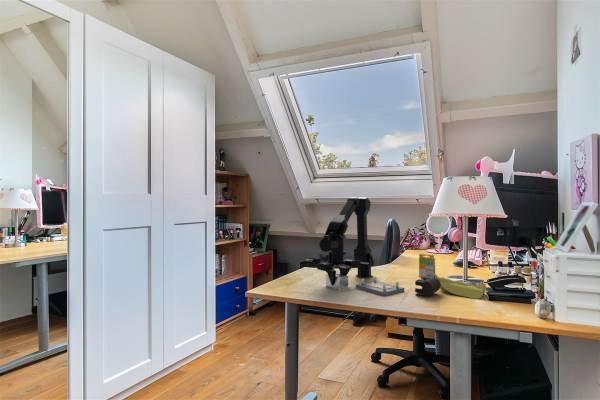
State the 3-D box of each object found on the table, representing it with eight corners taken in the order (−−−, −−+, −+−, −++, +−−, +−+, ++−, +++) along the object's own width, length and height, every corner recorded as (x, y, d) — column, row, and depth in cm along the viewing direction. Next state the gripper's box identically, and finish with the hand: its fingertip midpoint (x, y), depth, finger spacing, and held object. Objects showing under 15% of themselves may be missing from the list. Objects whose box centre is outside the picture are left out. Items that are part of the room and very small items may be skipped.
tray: (375, 284, 168) (375, 275, 168) (404, 291, 155) (404, 282, 155) (355, 288, 160) (355, 279, 160) (384, 296, 148) (384, 286, 148)
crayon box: (435, 277, 183) (435, 254, 183) (433, 278, 180) (434, 255, 180) (420, 275, 187) (420, 253, 187) (418, 277, 184) (419, 254, 184)
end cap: (431, 299, 144) (432, 282, 144) (414, 295, 149) (414, 279, 149) (440, 294, 152) (441, 277, 152) (424, 291, 156) (424, 275, 156)
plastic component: (486, 287, 154) (484, 281, 146) (483, 305, 151) (481, 299, 143) (437, 278, 164) (433, 272, 157) (434, 294, 162) (430, 288, 154)
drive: (334, 284, 167) (334, 272, 167) (348, 288, 160) (348, 275, 160) (326, 285, 164) (326, 273, 164) (339, 290, 157) (339, 277, 157)
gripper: (340, 245, 174) (340, 278, 174) (309, 248, 163) (309, 283, 163) (357, 248, 165) (356, 282, 165) (325, 251, 154) (325, 288, 154)
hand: (337, 284), depth 162 cm, fingers closed on drive, 5 cm apart
